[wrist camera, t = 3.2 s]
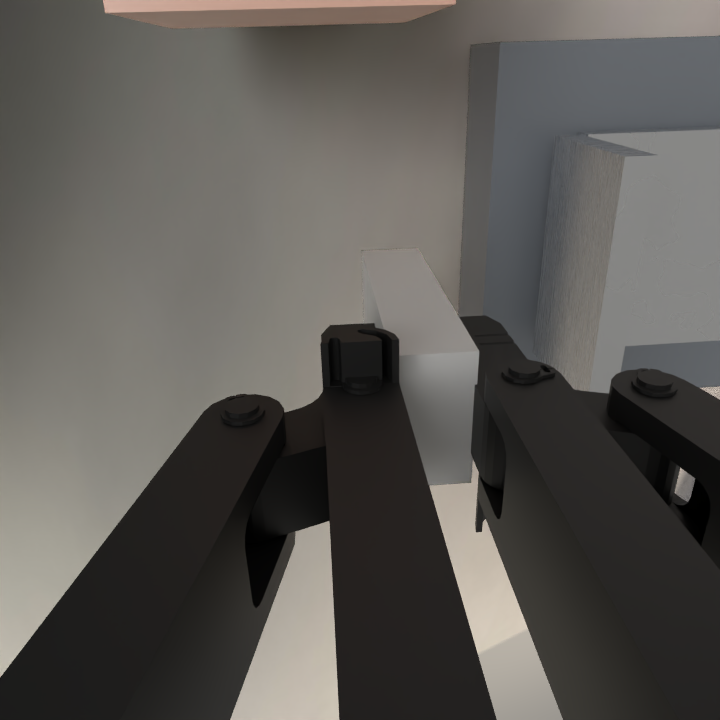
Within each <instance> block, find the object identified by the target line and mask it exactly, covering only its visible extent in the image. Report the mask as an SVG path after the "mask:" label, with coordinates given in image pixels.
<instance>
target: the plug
mask: <svg viewBox="0 0 720 720" xmlns="http://www.w3.org/2000/svg"><path fill="white" fill-rule="evenodd" d="M103 4H104V9H105V13H108V14H112V15H116V16H120V17H125V18H129V19H133V20H137V21H142V22H146V23H150V24H154V25H158V26H163V27H167V28H171V29H184V28H222V27H260V26H298V25H336V24H374V23H406V22H408V21H411V20H414V19H417V18H419V17H422V16H425V15H428V14H430V13H433V12H436V11H439V10H441V9H444V8H447V7H450V6H452V5H455V4H456V0H103Z"/></svg>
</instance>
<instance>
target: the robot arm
mask: <svg viewBox="0 0 720 720" xmlns="http://www.w3.org/2000/svg"><path fill="white" fill-rule="evenodd" d="M362 283H363V320H364V324H346V325H330V326H329V327H328V328H327V329H326V330H325V331H324V333H323V334H322V335H321V340H322V342H321V360H322V376H323V392H322V394H321V395H320V397H319V398H318V399H316V400H315V401H314V402H313V403H311V404H309V405H307V406H305V407H302V408H299V409H296V410H293V411H289V412H285V413H284V408H283V407H282V405H281V404H280V402H279V401H277V400H275V399H273V398H271V397H268V396H262V395H256V394H254V395H247V394H240V395H236V396H230V397H227V398H225V399H223V400H221V401H219V402H216V403H214V404H212V405H211V406H210V407H209V408H208V409H206V410H205V411H204V412H203V414H202V415H201V416H200V417H199V419H198V420H197V421H196V423H195V424H194V425H193V427H192V428H191V429H190V430H189V432H188V433H187V434H186V436H185V437H184V438H183V440H182V441H181V442H180V444H179V445H178V446H177V447H176V449H175V450H174V451H173V453H172V454H171V455H170V457H169V458H168V459H167V461H166V462H165V463H164V464H163V466H162V467H161V468H160V470H159V471H158V472H157V474H156V475H155V476H154V478H153V479H152V480H151V481H150V483H149V484H148V485H147V487H146V488H145V489H144V491H143V492H142V493H141V495H140V496H139V497H138V498H137V500H136V501H135V502H134V504H133V505H132V506H131V508H130V509H129V510H128V511H127V513H126V514H125V515H124V517H123V518H122V519H121V521H120V522H119V523H118V525H117V526H116V527H115V528H114V530H113V531H112V532H111V534H110V535H109V536H108V538H107V539H106V540H105V542H104V543H103V544H102V545H101V547H100V548H99V549H98V551H97V552H96V553H95V555H94V556H93V557H92V559H91V560H90V561H89V562H88V564H87V565H86V566H85V568H84V569H83V570H82V572H81V573H80V574H79V576H78V577H77V578H76V579H75V581H74V582H73V583H72V585H71V586H70V587H69V589H68V590H67V591H66V592H65V594H64V595H63V596H62V598H61V599H60V600H59V602H58V603H57V604H56V606H55V607H54V608H53V609H52V611H51V612H50V613H49V615H48V616H47V617H46V619H45V620H44V621H43V623H42V624H41V625H40V626H39V628H38V629H37V630H36V632H35V633H34V634H33V636H32V637H31V638H30V640H29V641H28V642H27V643H26V645H25V646H24V647H23V649H22V650H21V651H20V653H19V654H18V655H17V657H16V658H15V659H14V660H13V662H12V663H11V664H10V666H9V667H8V668H7V670H6V671H5V672H4V674H3V675H2V676H1V677H0V720H230V718H231V716H232V713H233V710H234V707H235V705H236V702H237V699H238V697H239V694H240V691H241V688H242V686H243V683H244V680H245V678H246V675H247V672H248V670H249V667H250V664H251V661H252V659H253V656H254V653H255V651H256V648H257V645H258V642H259V640H260V637H261V634H262V632H263V629H264V626H265V623H266V621H267V618H268V615H269V613H270V610H271V607H272V604H273V602H274V599H275V596H276V594H277V591H278V588H279V585H280V583H281V580H282V577H283V575H284V572H285V569H286V566H287V564H288V561H289V558H290V556H291V553H292V550H293V547H294V545H295V531H298V530H301V529H305V528H308V527H311V526H314V525H317V524H320V523H324V522H327V521H330V536H331V557H332V577H333V597H334V618H335V638H336V658H337V679H338V699H339V719H340V720H496V716H495V713H494V709H493V706H492V702H491V699H490V696H489V692H488V688H487V685H486V681H485V678H484V674H483V671H482V668H481V664H480V661H479V657H478V654H477V650H476V647H475V643H474V640H473V636H472V633H471V629H470V626H469V623H468V619H467V616H466V612H465V609H464V605H463V602H462V598H461V595H460V591H459V588H458V585H457V581H456V578H455V574H454V571H453V567H452V564H451V560H450V557H449V553H448V550H447V546H446V543H445V540H444V536H443V533H442V529H441V526H440V522H439V519H438V515H437V512H436V508H435V505H434V501H433V498H432V495H431V491H430V488H429V485H443V484H458V483H471V478H472V461H473V459H474V462H475V464H476V467H477V469H478V471H479V478H478V493H477V507H476V522H475V525H476V532H482V524H483V521H484V520H485V519H486V520H487V523H488V525H489V528H490V531H491V533H492V536H493V538H494V541H495V544H496V546H497V549H498V551H499V554H500V557H501V559H502V562H503V564H504V567H505V570H506V572H507V575H508V577H509V580H510V583H511V585H512V588H513V590H514V593H515V596H516V598H517V601H518V603H519V606H520V609H521V611H522V614H523V616H524V619H525V622H526V624H527V627H528V629H529V632H530V635H531V637H532V640H533V642H534V645H535V648H536V650H537V652H538V655H539V658H540V660H541V663H542V666H543V668H544V671H545V674H546V676H547V679H548V681H549V684H550V686H551V689H552V692H553V694H554V697H555V700H556V702H557V705H558V707H559V710H560V713H561V715H562V718H563V720H720V400H719V399H717V398H716V397H714V396H712V395H710V394H709V393H707V392H705V391H703V390H702V389H700V388H698V387H696V386H695V385H693V384H691V383H689V382H688V381H686V380H684V379H681V378H679V377H677V376H674V375H672V374H668V373H664V372H662V371H660V370H657V369H650V370H648V368H639V369H636V370H626V371H623V372H620V373H617V374H616V375H615V376H614V377H613V378H612V379H611V384H610V390H609V393H599V392H589V391H580V390H574V389H573V388H572V387H571V385H570V384H569V383H568V382H567V380H566V379H565V378H564V377H563V375H562V374H561V373H560V372H559V371H557V370H556V369H555V368H554V367H552V366H550V365H548V364H544V363H542V362H538V361H532V360H528V359H527V358H526V357H525V355H524V354H523V353H522V351H521V350H520V349H519V347H518V346H517V345H516V343H514V340H513V339H512V338H511V336H510V335H508V332H507V331H506V330H505V328H504V327H503V326H502V324H501V323H499V322H497V321H495V320H493V319H492V318H490V317H488V316H486V315H482V316H464V317H459V316H458V315H457V313H456V311H455V309H454V308H453V306H452V304H451V303H450V301H449V299H448V298H447V296H446V294H445V293H444V291H443V289H442V288H441V286H440V284H439V282H438V281H437V279H436V277H435V276H434V274H433V272H432V271H431V269H430V267H429V266H428V264H427V262H426V261H425V259H424V257H423V256H422V254H421V252H420V250H419V249H418V248H406V249H385V250H364V251H362ZM680 467H681V468H682V469H683V470H685V471H686V472H687V473H689V474H690V475H691V476H693V477H694V478H696V479H695V483H694V487H693V491H692V495H691V498H690V500H689V502H686V501H685V500H683V499H681V498H680V497H679V496H677V495H676V494H675V493H674V491H675V487H676V483H677V479H678V475H679V470H680Z"/></svg>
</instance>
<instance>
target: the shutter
mask: <svg viewBox="0 0 720 720" xmlns="http://www.w3.org/2000/svg"><path fill="white" fill-rule="evenodd" d="M719 340H720V126H711V127H685V128H659V129H633V130H607V131H580V132H577V135H561V136H555V141H554V151H553V160H552V170H551V179H550V189H549V198H548V208H547V217H546V227H545V236H544V246H543V255H542V265H541V274H540V284H539V293H538V303H537V313H536V322H535V332H534V341H533V351H532V352H533V353H534V355H535V356H536V357H537V358H538V360H539V361H540V362H542V363H544V364H548V365H550V366H552V367H554V368H555V369H556V370H557V371H559V372H560V373H561V374H562V375H563V377H564V378H565V379H566V380H567V382H568V383H569V384H570V385H571V387H572V388H573V389H574V390H580V391H589V392H599V393H609V390H610V384H611V379H612V378H613V377H614V376H615V375H616V374H617V373H620V372H621V367H622V361H623V356H624V350H625V346H637V345H654V344H670V343H686V342H703V341H719Z"/></svg>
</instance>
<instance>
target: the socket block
mask: <svg viewBox="0 0 720 720" xmlns="http://www.w3.org/2000/svg"><path fill="white" fill-rule="evenodd" d="M711 126H720V36H701V37H666V38H631V39H596V40H561V41H526V42H497V43H486V44H475V45H471V51H470V73H469V95H468V117H467V138H466V160H465V182H464V204H463V226H462V247H461V269H460V291H459V313H458V316H459V317H464V316H482V315H486V316H488V317H490V318H492V319H493V320H495V321H497V322H499V323H501V324H502V326H503V327H504V328H505V330H506V331H507V332H508V335H510V336H511V338H512V339H513V340H514V343H516V345H517V346H518V347H519V349H520V350H521V351H522V353H523V354H524V355H525V357H526V358H527V359H528V360H532V361H538V362H540V361H539V360H538V358H537V357H536V356H535V355H534V353H533V352H532V351H533V341H534V332H535V322H536V313H537V303H538V293H539V284H540V274H541V265H542V255H543V246H544V236H545V227H546V217H547V208H548V198H549V189H550V179H551V170H552V160H553V151H554V141H555V136H561V135H577V132H580V131H607V130H633V129H659V128H685V127H711ZM639 368H648V370H650V369H657V370H660V371H662V372H664V373H668V374H672V375H674V376H677V377H679V378H681V379H684V380H686V381H688V382H689V383H691V384H693V385H695V386H696V387H698V388H701V387H717V386H720V340H719V341H703V342H686V343H670V344H654V345H637V346H625V350H624V356H623V361H622V367H621V372H623V371H626V370H636V369H639Z"/></svg>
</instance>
